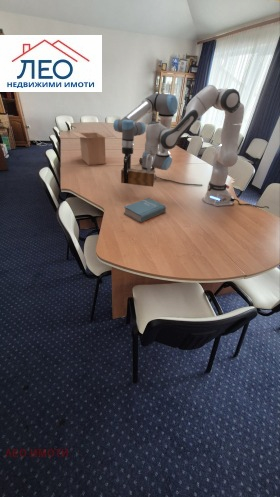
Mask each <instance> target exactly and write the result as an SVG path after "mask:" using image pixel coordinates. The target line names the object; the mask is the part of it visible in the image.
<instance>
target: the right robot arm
mask: <svg viewBox="0 0 280 497" xmlns="http://www.w3.org/2000/svg"><path fill="white" fill-rule="evenodd" d="M240 95H241V94H240V92H239V91H238V90H237V89H236V88H231V87H224V88H217V87H216V86H215V85H213V84H208V85H207V86H205V87H203V88H201V90H199V91H198V92H197V93H196V94H195V95H194V96H193V97H192V98H191V99H190V101H189V102H188V103H187V105H186V106H185V113H184V116H183V118H182V119H180V121H179V122H178V123H177V124H176V125H175V126H174V127H173V128H171V130H170V129H169V128H166V127H165V126H163V125H162V124H161V123H160V121H157V120H156V121H155V120H154V121H150V122H149V123H148V124H147V125H146V129H145V143H144V151H145V153H146V155H147V158H146V168H147V173H148V174H150V170H151V169H152V164H153V162H154V159H155V156H156V154H158V147H159V144H161V145H162V146H163V148H165V149H168V150H169V151H170V150H173V149H174V148H175V147H176V146H177V145H178V143H179V141H180V140H181V138H182V136H183V135H184V134H185V133H186V132H187V131H188V130H189V129H190V128H192V126H193V125H194V124H195V123H196V122H197V121H198V120H199V119H200V118H201V117H202V116H204V114H205V113H207V112H208V111H209V110H210V109H211V108H212V107H213V108H214V109H216V110H219V111H223V112H224V119H223V123H222V129H221V131H220V132H221V133H220V144H219V145H217V146H216V147H215V148H214V149H213V160H212V171H211V174H210V175H211V176H210V180H209V182H208V185H207V189H206V192H205V194H204V197H203V199H202V200H203V201H204V202H205V203H206V204H209V205H213V206H215V207H224V206H225V207H226V206H233V205H234V202H235V201H236V202H238V205H239V206H252V207H255V208H258V209H259V208H260V209H263V208H266V209H270V207H269V206H268V205H267V206H266V205H264V206H260V205H259V206H258V205H255V204H251V203H240V200H239V199H237V198H235V196H232V194H231V193H230V192H229V190H228V189H230V185H228V184H227V179H228V175H229V168H232V167H234V166H235V165H236V163H237V162H238V160H239V156H238V146H239V145H238V144H239V137H240V134H241V133H240V132H241V129H242V125H243V120H244V115H245V105H244V104H243V103H242V102H241V96H240Z"/></svg>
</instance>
